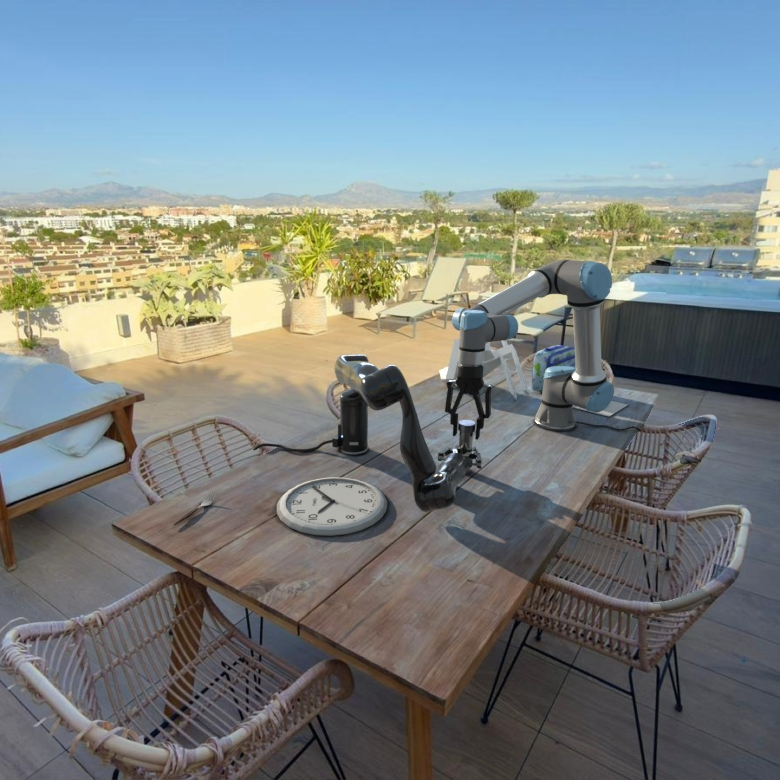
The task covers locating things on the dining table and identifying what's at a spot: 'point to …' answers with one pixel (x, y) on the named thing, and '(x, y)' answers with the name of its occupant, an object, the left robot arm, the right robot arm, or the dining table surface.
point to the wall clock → (331, 506)
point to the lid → (466, 426)
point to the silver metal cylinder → (465, 444)
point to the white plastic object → (488, 364)
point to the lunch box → (550, 362)
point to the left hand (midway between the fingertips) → (467, 448)
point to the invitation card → (608, 408)
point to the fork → (204, 503)
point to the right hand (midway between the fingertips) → (466, 436)
